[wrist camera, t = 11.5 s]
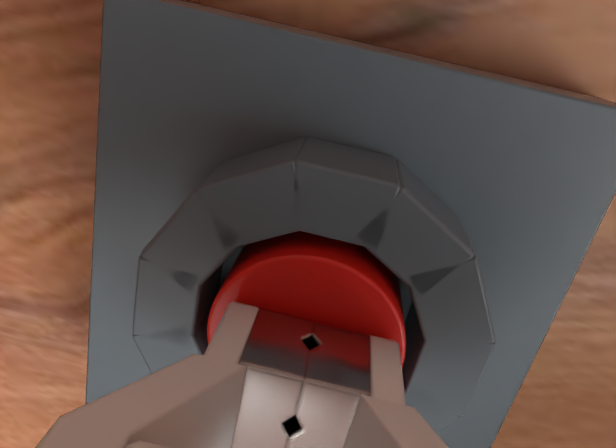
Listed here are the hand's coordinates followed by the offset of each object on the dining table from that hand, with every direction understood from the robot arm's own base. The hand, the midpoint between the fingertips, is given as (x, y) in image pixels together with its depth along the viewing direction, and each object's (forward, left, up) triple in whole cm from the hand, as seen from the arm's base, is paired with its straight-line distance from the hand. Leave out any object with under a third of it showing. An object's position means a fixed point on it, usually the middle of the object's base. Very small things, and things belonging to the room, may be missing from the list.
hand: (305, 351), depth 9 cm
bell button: (0, 0, -2) cm, 2 cm away
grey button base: (0, 0, -4) cm, 4 cm away
